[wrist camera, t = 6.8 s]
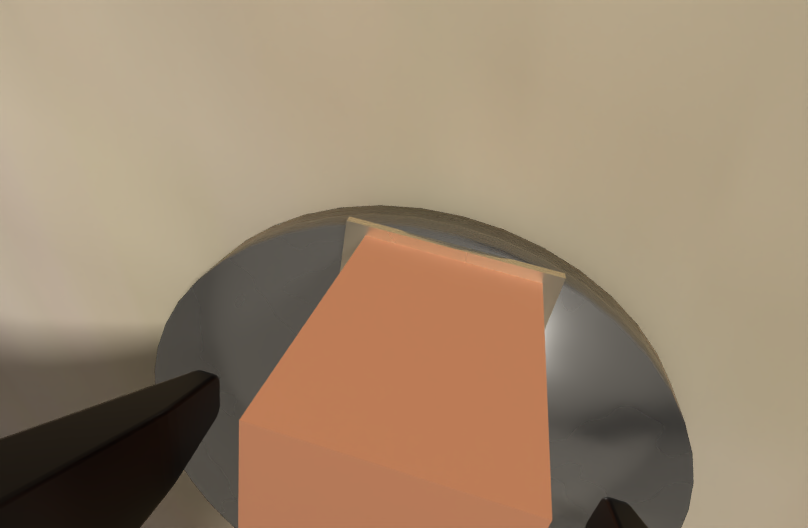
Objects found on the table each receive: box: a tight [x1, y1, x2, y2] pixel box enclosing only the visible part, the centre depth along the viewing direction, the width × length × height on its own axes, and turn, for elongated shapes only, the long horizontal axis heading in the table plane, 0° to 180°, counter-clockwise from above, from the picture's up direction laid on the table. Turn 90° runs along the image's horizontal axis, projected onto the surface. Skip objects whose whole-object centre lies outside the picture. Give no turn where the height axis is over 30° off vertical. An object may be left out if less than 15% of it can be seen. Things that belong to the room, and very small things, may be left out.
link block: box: [238, 235, 552, 528], centre depth 9 cm, size 4×6×5 cm, turn 170°
